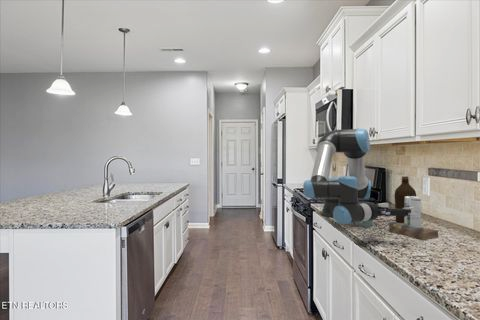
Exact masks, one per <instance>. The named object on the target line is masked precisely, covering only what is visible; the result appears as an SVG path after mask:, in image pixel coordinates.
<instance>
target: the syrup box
mask: <svg viewBox="0 0 480 320" xmlns="http://www.w3.org/2000/svg"><path fill="white" fill-rule="evenodd" d="M408 207H414V208H415V213H413V214H408V216H406V217H404V225H409V226H413V227H418V228H421V227H422V198H421V197H418V196H416V197H414V196H405V208H408Z"/></svg>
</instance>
